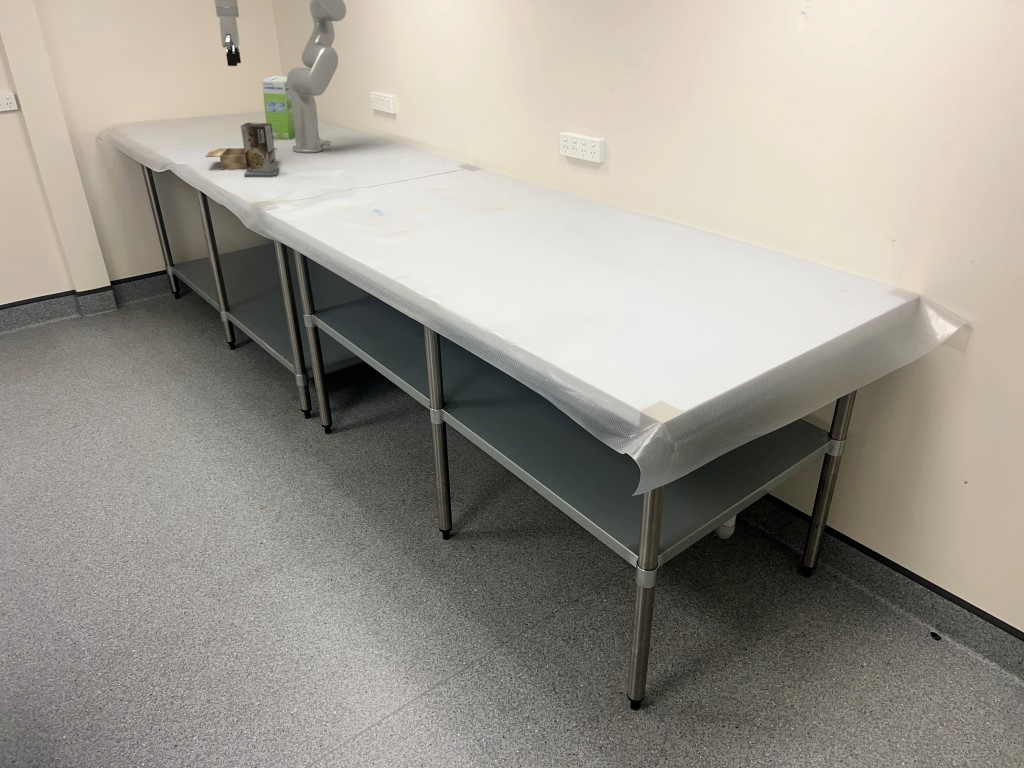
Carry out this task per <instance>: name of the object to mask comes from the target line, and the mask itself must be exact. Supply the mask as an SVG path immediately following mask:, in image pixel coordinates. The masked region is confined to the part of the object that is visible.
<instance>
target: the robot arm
mask: <svg viewBox="0 0 1024 768" xmlns="http://www.w3.org/2000/svg"><path fill="white" fill-rule="evenodd" d="M214 5H215V13H216V17H217V18H219V29H220V38H221V46H222V47H223V48H225V52H226V53H225V55H226V62H227V66H228V67H238V64H241V63H242V60H241V53H240V49H239V46H240V36H239V30H238V22H237V18H240V13H239V6H238V0H214ZM309 11H310V15H311V17H312V20H313V30H312V32H311V35H310V37H309V39H308V41H307V42H306V44H305V47H304V49H303V51H302V53H301V61H302V62H301V63H302V64H303V65H304V66H305V67H300V66H299V67H293V68H292V69H291V70H289V71H288V74H287V75H286V76H287V85H288V89H289V92H290V96H291V102H292V111H293V120H294V129H295V136H294V137H295V145H294V146H292V151H293V152H296V153H306V154H308V153H309V154H310V153H320V152H323V151H324V150H325V147H326V146H327V147H329V146H332V145H331V140H322V139H321V136H320V133H319V122H318V121H319V119H318V111H317V103H316V98H315V96H321V95H322V94H323V93H325V91H326V90H327V88H328V87H329V84H330V82H331V80H332V78H333V77H334V75H335V72H336V70H337V68H338V65H339V55H338V53H337V51H336V49H335V48H334V47H333V43H334V41H335V37H336V36H335V34H336V33H335V29H334V28H335V27H334V24H333V22H340V21H342V20H344V19H345V17H346V14H347V8H346V4H345V2H344V0H310V2H309ZM324 146H325V147H324ZM322 150H323V151H322Z"/></svg>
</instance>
